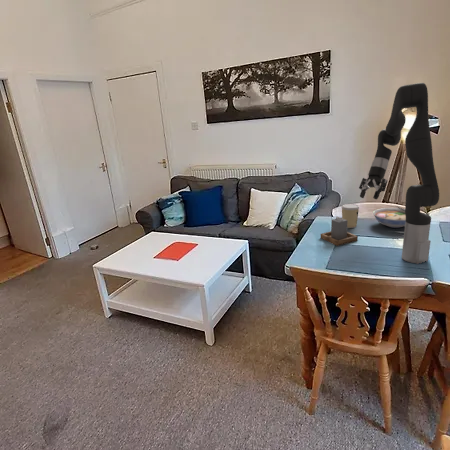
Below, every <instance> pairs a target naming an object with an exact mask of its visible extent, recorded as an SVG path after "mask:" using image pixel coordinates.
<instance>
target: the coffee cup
mask: <svg viewBox="0 0 450 450" xmlns="http://www.w3.org/2000/svg"><path fill="white" fill-rule="evenodd" d="M359 209H360V206H359V205H358V204H356V203H345V204H343V205H342V206H341V218H343V219H345V220H348V221H347V229H353V228H357V225H358V219H359V218H358V217H359Z"/></svg>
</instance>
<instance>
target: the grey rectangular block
mask: <svg viewBox="0 0 450 450" xmlns="http://www.w3.org/2000/svg"><path fill="white" fill-rule="evenodd" d="M347 221H348V220H345V219H343V218H342V217H340V216H336V217H335V218H334V219H331V224H330V225H331V227H330V229H331V230H330V231H331V238H333V239H336V240H342V239H345V238H347V232H348V228H347Z"/></svg>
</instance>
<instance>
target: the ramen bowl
mask: <svg viewBox="0 0 450 450" xmlns="http://www.w3.org/2000/svg"><path fill="white" fill-rule="evenodd" d="M372 214H373V216H374V218H375V219H376V220H377V222H378V223H380V224H381V225H383V226H387V227H388V228H393V229H399V228H400V229H401V228H402V227H404V228H405V221H406V216H405V208H402V207H400V206H398V205H395V207H382V208H378V209H374V211H373V212H372Z"/></svg>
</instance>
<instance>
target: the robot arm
mask: <svg viewBox="0 0 450 450" xmlns="http://www.w3.org/2000/svg"><path fill="white" fill-rule="evenodd" d="M410 108H416V113H415V114H416V116H415V118H414V121H413V123H412V125H411V127H410V128H409V130H408V132H407V133H406V137H405V140H404V143H405V144H404V146H405V153H406V157H407V158H408V160H409V161H410V162H411V164H412V165H413V166H414V168H415V169H416V170H417V171H418V172H419V174H420V177H421V181H422V184H415V185H413V184H412V185H410V186H409V187H408V188H407V190H406V193H405V203H404V205H405V208H404V209H405V216H406V221H405V226H404V232H403V239H402V240H403V241H402V252H401V259H402V260H403V261H405V262H408V263H412V264H417V265H419V263H420V264H422V262H423V263H426V262H428V261H429V255H430V248H431V247H430V246H431V240H430V238H429V236H430V231H431V230H430V229H431V225H432V216H431V215H429V214H427V213H424V212H421V208H423V207H424V208H425V207H433V206H434V207H435V206H436V205H437V204H438V203H439V201H440V189H439V184H438V179H437V175H436V169H435V162H434V157H433V145H432V144H433V143H432V136H431V130H430V121H429V91H428V87H427V85H426V83H425V82H416V83H411V84H404V85H402V86H400V87H398V89H397V91H396V92H395V97H394V99H393V104H392V109H391V113H390V118H389V119H388V122H387V124H386V127H385V128H383V129H382V130H380V131H379V132H378V135H377V150H376V152H375V155H374V158H373V160H372V162H371V166H370V168H369V171H368V174H367V175H368V177H367V178H365V177H363V178H362V179H361V182H360V184H359V187H358V189H360V190H361V191H360V194H359V197H360V198H361V199H365V197H366V193H367V192H366V191H368V190H369V189H370V188H375V192H374V194H373V197H372V198H373V199H374V200H378V199H379V197H380V194H381V192H385V191H386V187H387V184H388V179H386V178H385V175H386V173H387V169H388V166H389V162H390V159H391V156H392V154H393V153H392V150H391V149H390V148H388V147H386V146H385V145H387V146H391V147H392V146H393V147H395V146H397V145H398V144H399V143H400V142H401V140H402V139H401V137H402V130H403V128H404V126H405V125H406V115H405V114H404V112H403V109H410ZM425 261H426V262H425Z"/></svg>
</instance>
